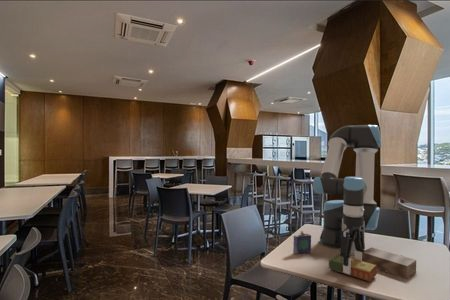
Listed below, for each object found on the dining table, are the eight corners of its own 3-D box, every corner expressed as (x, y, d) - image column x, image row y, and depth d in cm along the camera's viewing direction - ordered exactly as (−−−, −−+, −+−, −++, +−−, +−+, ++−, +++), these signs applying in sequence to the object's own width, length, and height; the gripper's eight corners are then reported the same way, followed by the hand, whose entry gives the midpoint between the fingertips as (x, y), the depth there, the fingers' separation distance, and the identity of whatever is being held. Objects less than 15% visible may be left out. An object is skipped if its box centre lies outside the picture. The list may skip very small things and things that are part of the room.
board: (341, 250, 137) (342, 217, 137) (363, 253, 133) (364, 220, 133) (341, 253, 133) (341, 219, 133) (364, 257, 129) (364, 222, 129)
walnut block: (361, 263, 122) (361, 252, 122) (371, 257, 128) (371, 247, 128) (407, 278, 108) (407, 266, 108) (416, 271, 114) (416, 260, 114)
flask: (294, 255, 130) (295, 232, 130) (291, 252, 133) (292, 231, 133) (311, 253, 132) (312, 231, 132) (308, 251, 135) (308, 230, 135)
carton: (370, 282, 103) (370, 271, 103) (328, 268, 114) (328, 258, 114) (376, 275, 109) (376, 264, 108) (336, 262, 120) (336, 253, 120)
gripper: (348, 221, 101) (348, 281, 102) (374, 213, 114) (373, 266, 115) (330, 217, 107) (329, 274, 108) (356, 209, 120) (356, 260, 121)
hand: (352, 269), depth 111 cm, fingers closed on carton, 9 cm apart
